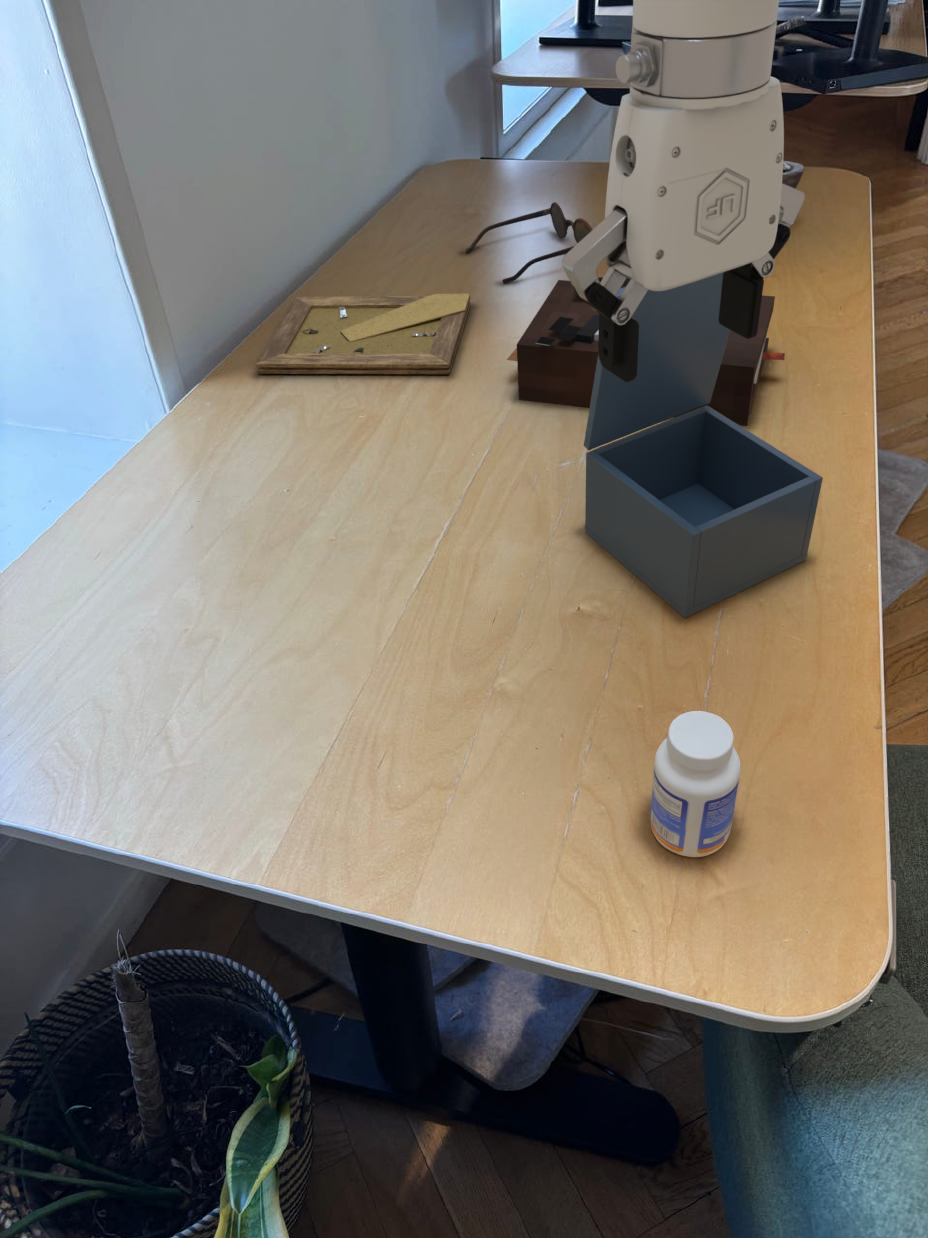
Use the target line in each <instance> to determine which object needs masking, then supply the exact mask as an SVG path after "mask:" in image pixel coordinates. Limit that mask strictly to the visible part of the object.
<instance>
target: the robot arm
mask: <svg viewBox="0 0 928 1238" xmlns="http://www.w3.org/2000/svg"><path fill="white" fill-rule="evenodd" d="M779 5H780V0H632V26H631V34H630V36H631V37H630V51H629V52H628V53H627V54H623V55H620V56H618V57H617V59H616V62H615V76H616V78H617V81H618V82H619V83H620V84H623V85H624V84H629V93H627V94H624V95H622V96H621V100H620V103H619V104H620V105H619V109H618V113H617V117H616V122H615V128H614V133H613V138H612V145H611V151H610V158H609V165H608V174H607V182H606V193H605V194H606V195H605V208H604V219H603V220H601V222H599V223H598V224H597V225H596V226H595V227H594V228H592V231H591V232H590V233H589V234H588V235H587V236H585V237H584V238H583V239H582V240H581V241H580V242H579V243H578V244H577V243H576V244H575V245H573V246H574V247H573V246H572V247H573V248H572V249H571V250H570V251H569V252H568V253H567V254H564V255H563V257H562V260H561V266H562V268H563V270H564V272H565V274H566V276H567V277H568V281H571V283H572V285H573V286H574V287H575V293H576V295H577V296H579V297H580V298H581V299H582V300H584V301H585V302H586V303H587V304H588V305H590V306H591V308H592V309H593V310H595V311H597V312H598V313H599V338H598V356H599V359H600V362H601V365H602V366H603V367H604V368H606V369H607V370H608V371H610V372H611V373H613V374H614V375H616V376H617V377H619V378H620V379H622V380H623V381H625V382H629V381H632V380H634V379H635V377H636V376H637V362H638V340H639V324H638V322H637V321H635V320H634V319H632V318H631V317H632V315H633V313H634V312H635V310H636V309H637V307H638V305H639V304H640V302H641V301H642V299H643V297H644V296H645V294H646V293H647V291H648V289H649V290H652V291H665V290H669V289H673V288H676V287H679V286H683V285H686V284H689V283H692V282H695V281H698V280H701V279H704V278H707V277H710V276H713V275H717V274H720V273H723V280H722V290H721V300H720V310H719V323H720V324H721V325H723V326H724V327H726V328H728V329H730V330H732V331H733V332H735V333H737V334H739V335H741V336H743V337H745V338H747V339H749V338H752V337H755V336H756V335H757V331H758V323H759V315H760V308H761V300H762V295H763V292H764V285H765V283H764V282H765V280H764V278H768V277H769V276H771V275H772V274H773V272H774V270H775V267H776V262H775V259H776V257H777V256H778V255H779V253H780V252H781V251H782V249H783V248H784V246H785V245H786V244H787V242H788V241H789V239H790V237H791V226H793V225H794V224H795V221H796V219H797V217H798V215H799V212H800V210H801V208H802V206H803V204H804V202H805V199H806V195H805V193H804V191H801V190H799V189H797V188H796V189H795V188H792V187H790V186H788V185H785V184H783V183H782V175H783V161H784V151H785V140H784V139H785V128H784V127H785V126H784V125H785V124H784V123H785V122H784V106H783V96H782V87H781V82H780V80H779V79H778V78H776V77H774V76H771V74H772V67H773V58H774V48H775V42H776V33H777V25H778V13H779V12H778V11H779ZM604 260H605V263H606V265H607V267H608V269H607V270H606V272H605V274H604V276H603V279H602V281H601V282H600V281H599V279H598V278H599V276H598V271H597V270H598V267H599V265H600V264H601V263H602V262H604ZM626 277H627V278H628V279H630V281H629V283H628V285H627V286H626V288H625V289H624V291H623V293H622V294H621V296H620V298H619V299H618V298H617V297H616V294H617V293H618V291H619V289H620V288H621V286H622V285H623V283H624V281H625V280H626Z"/></svg>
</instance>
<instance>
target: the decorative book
mask: <svg viewBox="0 0 928 1238" xmlns="http://www.w3.org/2000/svg"><path fill="white" fill-rule="evenodd" d="M598 277H599V276H598ZM603 277H604V276H603ZM603 277H601V276H600V277H599V278H598V279H599V281H600V282H601V281H602V279H603ZM620 289H621V288H620ZM775 299H776V296H775V295H763V294H762V300H761V308H760V315H759V323H758V331H757V335H756V336H755V337H752V338H749V339H747V338H745V337H743V336H741V335H739V334H737V333H735V332H733V331H732V330H730V333H729V337H728V341H727V344H726V348H725V351H724V355H723V358H722V362H721V365H720V369H719V372H718V376H717V379H716V383H715V386H714V390H713V394H712V397H711V401H710V403H708V404H706V405H707V406H709V407H711V408H712V409H714V410H715V411H717V412H719V413H720V414H722V415H723V416H725V417H727V418H728V419H730V420H731V421H733V422H735V423H736V424H738V425H739V426H748V423H749V419H750V416H751V412H752V408H753V405H754V401H755V398H756V393H757V390H758V387H759V384H760V379H761V375H762V372H763V368H764V365H765V361H769V360H771V361H785V359H786V358H785V357H786V353H785V352H774V351H773V352H770V351H769V352H768V349H769V342H770V337H767V336H768V331H769V327H770V323H771V319H772V317H773V313H774V307H775ZM598 338H599V313H598V312H597V311H595V310H593V309H592V308H591V306H590V305H588V304H587V303H586V302H585V301H584V300H582V299H581V298H580V297H579V296H577V295H576V293H575V287H574V286H573V285H572V283H571V281H570V280H563V279H557V282H556V283H555V285H554V286H553V287H552V289H551V291H550V293H549V294H548V295H547V297H546V298H545V300H544V301H543V303H542V304H541V306H540V308H539V309H538V310H537V312H536V313H535V315H534V317H533V319H532V320H531V321H530V323H529V324H528V326H527V328H526V329H525V331H524V332H523V333H522V335H521V337H520V339H519V340H518V342H517V343H516V348H515V349H514V350H513V352H512V353H510V355H509V356H508V358H506V360H507V361H512V362H516V363H517V365H516V366H517V386H518V390H517V391H518V400H522V401H531V402H539V403H548V404H556V405H564V406H575V407H582V408H583V407H584V408H590V403H591V396H592V390H593V384H594V378H595V372H596V366H597V359H598ZM706 405H703V406H700V407H698V408H701V407H704V406H706ZM698 408H695V409H693V410H696V409H698ZM693 410H690V411H688V412H691V411H693ZM688 412H685V413H683V414H686V413H688ZM683 414H680V415H683ZM680 415H678V416H680ZM678 416H675V417H678ZM675 417H674V418H675Z"/></svg>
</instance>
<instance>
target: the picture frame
mask: <svg viewBox="0 0 928 1238" xmlns="http://www.w3.org/2000/svg"><path fill="white" fill-rule="evenodd" d="M471 304H472V303H471V294H470V293H432V294H430V295H373V296H371V295H370V296H369V295H366V296H365V295H363V296H361V295H359V296H358V295H357V296H355V295H354V296H352V295H351V296H349V295H348V296H295V298H294V300H293V302H292V303H291V305H290V306H289V308H288V310H287V312H286V313H285V315H284V317H283V318H282V320H281V322H280V323H279V325H278V327H277V329H275V332H274V333H273V335H272V336H271V338H270V340H269V342H268V343H267V345H266V347H265V348H264V349H263V351H262V353H261V355H260V356H259V358H258V360H257V361H256V367H257V368H258V369H257V373H258V374H263V375H264V374H266V375H267V374H273V375H275V374H277V375H278V374H279V375H280V374H282V375H283V374H285V375H287V374H288V375H295V374H299V375H301V374H303V375H315V374H316V375H450V374H451V372H452V368H453V365H454V362H455V358H456V356H457V351H458V349H459V345H460V343H461V342H460V341H461V339H462V335H463V332H464V329H465V325H466V323H467V318H468V315H469V313H470V310H471V309H470V308H471Z"/></svg>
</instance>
